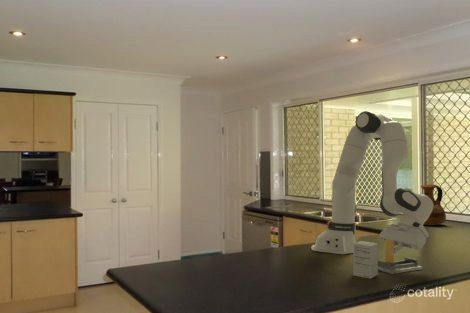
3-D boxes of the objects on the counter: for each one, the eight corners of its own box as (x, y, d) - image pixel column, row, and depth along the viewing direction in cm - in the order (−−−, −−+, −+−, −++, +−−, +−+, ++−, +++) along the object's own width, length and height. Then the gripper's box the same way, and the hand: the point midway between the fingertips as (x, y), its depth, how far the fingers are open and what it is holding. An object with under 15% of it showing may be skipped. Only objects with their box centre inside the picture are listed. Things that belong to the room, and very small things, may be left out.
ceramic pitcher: (410, 223, 322) (411, 183, 323) (432, 222, 328) (432, 183, 329) (429, 227, 304) (430, 184, 304) (452, 226, 310) (452, 185, 310)
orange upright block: (389, 265, 179) (390, 239, 179) (395, 267, 177) (396, 240, 177) (382, 266, 177) (383, 240, 178) (388, 268, 175) (389, 241, 175)
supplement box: (360, 271, 173) (360, 240, 173) (378, 275, 168) (378, 243, 168) (352, 275, 167) (353, 243, 167) (370, 279, 163) (371, 245, 163)
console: (403, 264, 188) (403, 256, 188) (422, 269, 179) (422, 260, 179) (373, 268, 180) (373, 259, 180) (391, 274, 171) (392, 264, 171)
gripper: (386, 218, 191) (369, 242, 186) (425, 225, 173) (408, 251, 168) (392, 228, 193) (376, 251, 188) (432, 235, 175) (416, 262, 170)
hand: (392, 251), depth 178 cm, fingers closed
